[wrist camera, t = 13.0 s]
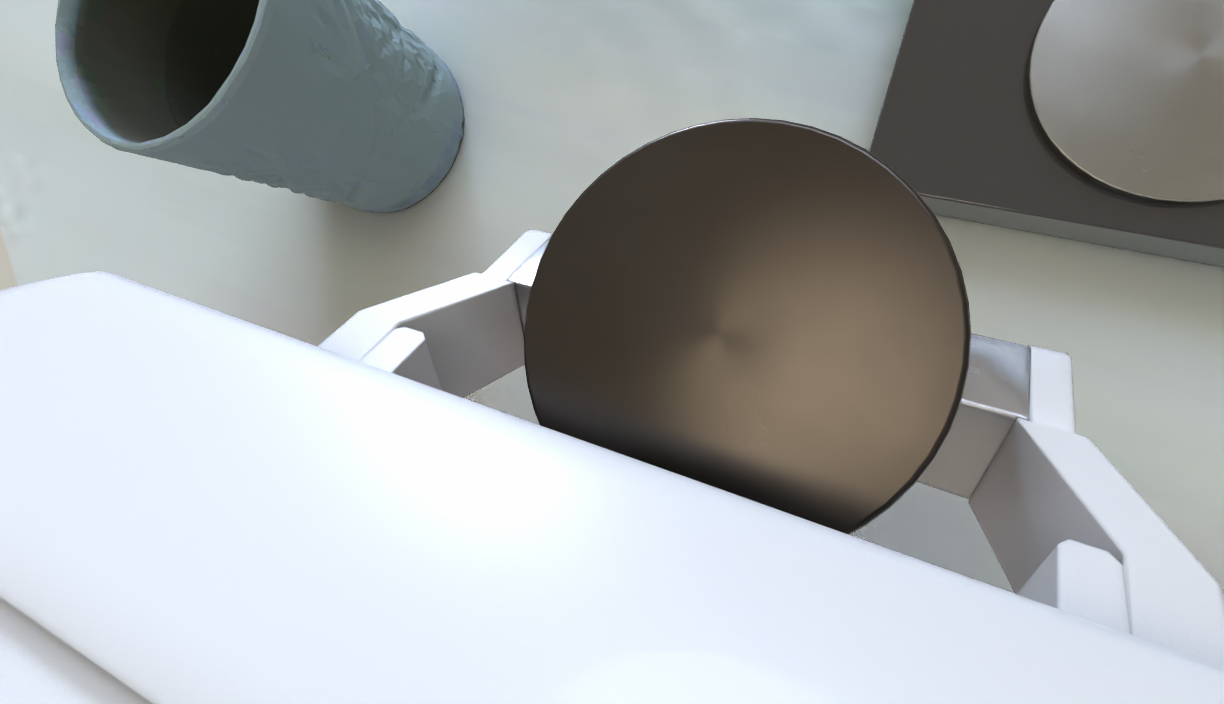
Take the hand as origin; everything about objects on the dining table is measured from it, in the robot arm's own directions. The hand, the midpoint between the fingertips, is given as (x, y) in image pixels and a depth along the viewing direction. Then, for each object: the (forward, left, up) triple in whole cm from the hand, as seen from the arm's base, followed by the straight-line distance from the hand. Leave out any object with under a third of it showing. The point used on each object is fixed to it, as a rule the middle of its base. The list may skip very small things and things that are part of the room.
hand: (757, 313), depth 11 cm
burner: (-9, -12, -13) cm, 20 cm away
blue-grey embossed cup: (+22, -5, -15) cm, 27 cm away
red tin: (0, +1, -5) cm, 5 cm away
